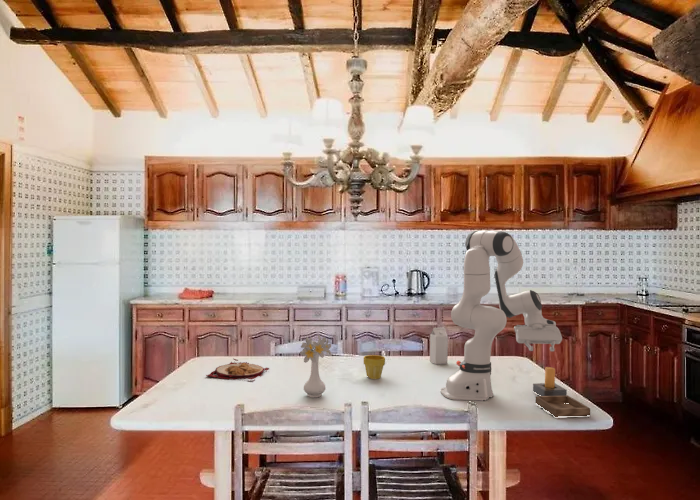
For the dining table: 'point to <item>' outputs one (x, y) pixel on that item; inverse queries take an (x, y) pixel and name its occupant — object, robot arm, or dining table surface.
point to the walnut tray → (562, 406)
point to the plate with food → (238, 371)
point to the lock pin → (549, 377)
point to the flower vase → (314, 365)
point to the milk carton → (439, 346)
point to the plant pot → (374, 366)
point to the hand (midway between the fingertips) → (542, 350)
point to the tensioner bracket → (549, 390)
